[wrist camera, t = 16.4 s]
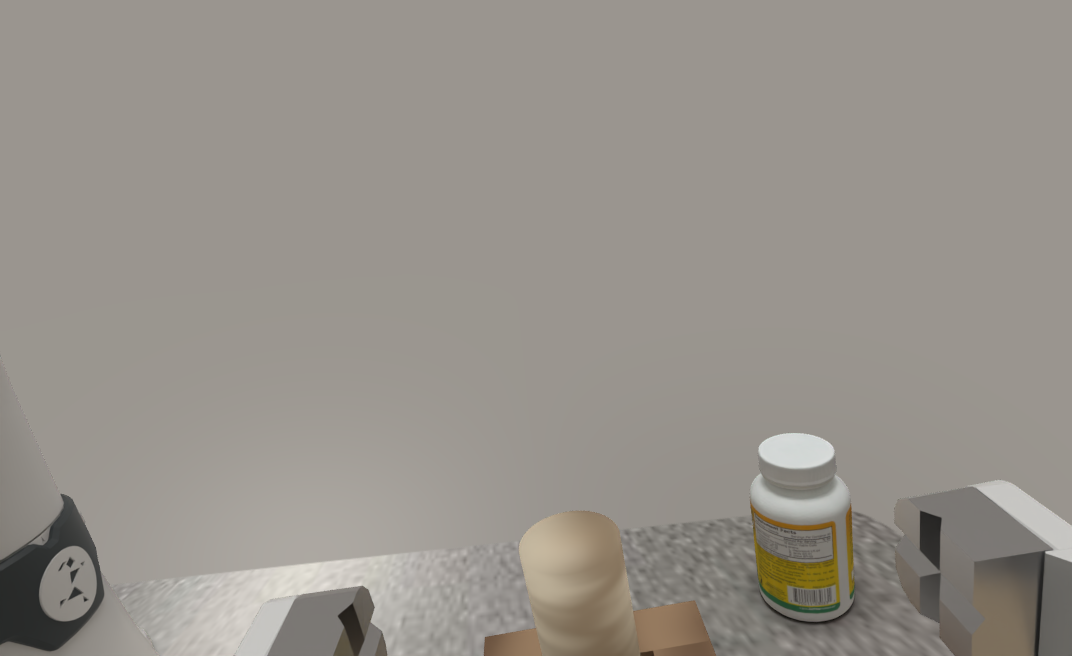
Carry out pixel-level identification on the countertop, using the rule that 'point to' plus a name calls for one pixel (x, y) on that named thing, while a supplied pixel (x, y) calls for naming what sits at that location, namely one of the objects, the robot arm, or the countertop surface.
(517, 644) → the socket block
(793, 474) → the supplement bottle
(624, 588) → the dowel
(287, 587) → the countertop surface
